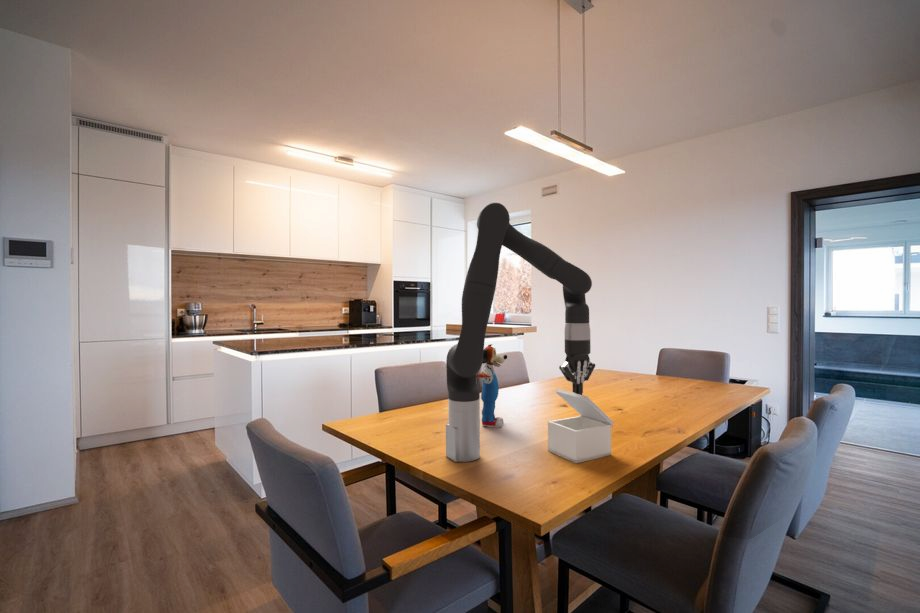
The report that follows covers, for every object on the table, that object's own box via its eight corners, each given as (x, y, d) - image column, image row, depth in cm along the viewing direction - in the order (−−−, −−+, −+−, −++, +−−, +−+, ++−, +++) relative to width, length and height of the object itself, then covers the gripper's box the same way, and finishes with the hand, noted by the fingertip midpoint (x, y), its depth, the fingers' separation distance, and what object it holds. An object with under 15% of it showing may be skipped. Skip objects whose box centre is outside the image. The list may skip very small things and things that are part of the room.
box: (575, 463, 121) (575, 431, 121) (548, 450, 132) (548, 421, 132) (611, 454, 128) (611, 424, 128) (581, 443, 139) (581, 415, 139)
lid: (585, 399, 122) (587, 395, 123) (554, 391, 134) (556, 387, 134) (612, 425, 128) (614, 421, 128) (580, 415, 139) (582, 411, 139)
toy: (502, 439, 143) (502, 349, 143) (472, 437, 145) (472, 348, 145) (511, 413, 176) (511, 340, 176) (486, 412, 178) (486, 340, 178)
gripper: (569, 340, 123) (570, 400, 123) (602, 337, 129) (603, 395, 130) (552, 338, 130) (552, 395, 130) (584, 336, 136) (584, 390, 136)
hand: (577, 395), depth 130 cm, fingers closed
